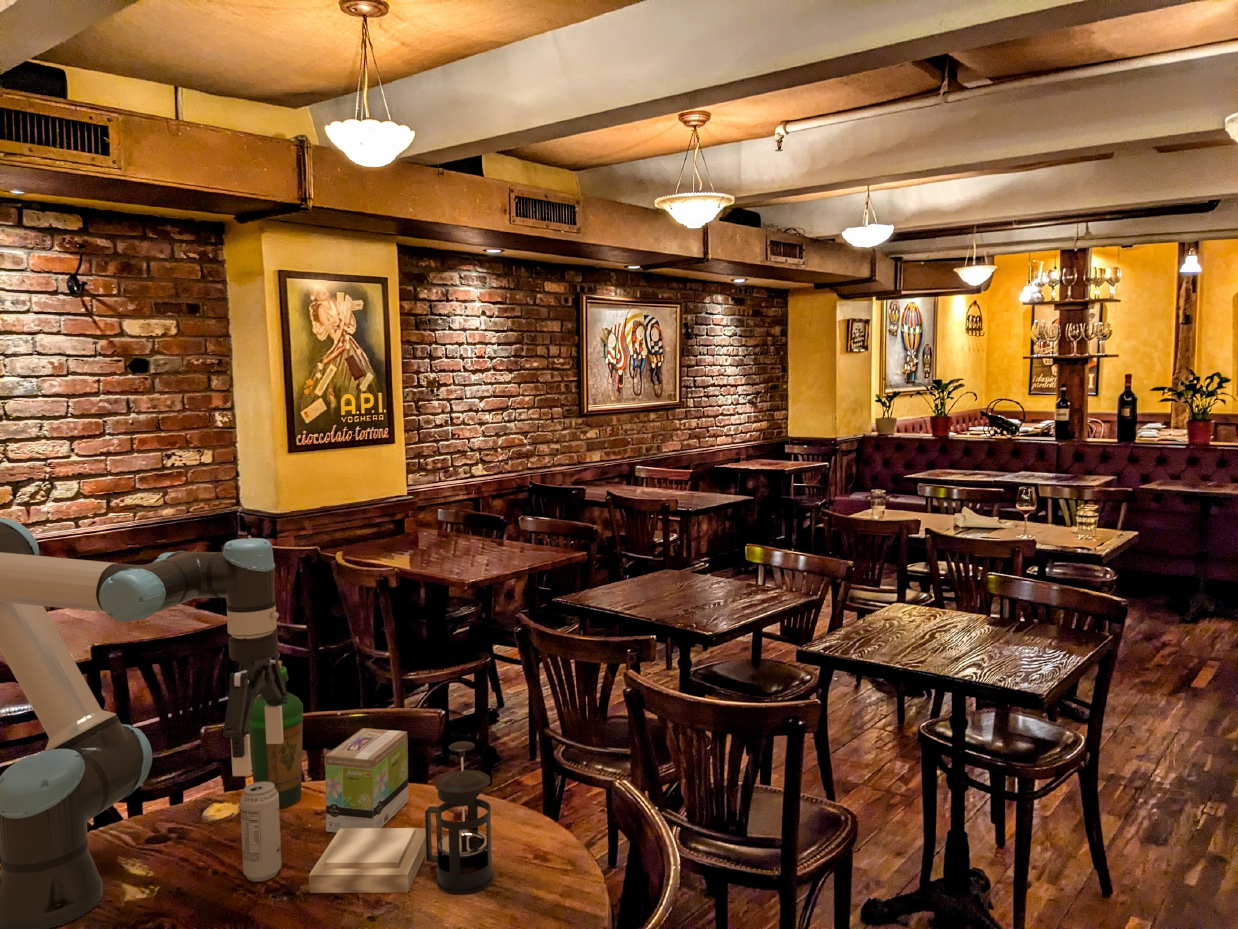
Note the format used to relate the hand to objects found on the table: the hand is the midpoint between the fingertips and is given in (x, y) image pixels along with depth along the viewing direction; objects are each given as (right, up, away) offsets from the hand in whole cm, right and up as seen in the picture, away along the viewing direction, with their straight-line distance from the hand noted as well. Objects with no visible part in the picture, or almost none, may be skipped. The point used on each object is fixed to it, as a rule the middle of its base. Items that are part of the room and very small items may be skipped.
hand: (259, 758), depth 154 cm
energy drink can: (0, -20, +2) cm, 20 cm away
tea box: (+12, -18, +22) cm, 31 cm away
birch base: (+18, -20, +3) cm, 27 cm away
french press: (+34, -20, -1) cm, 39 cm away
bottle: (-8, -18, +30) cm, 35 cm away
